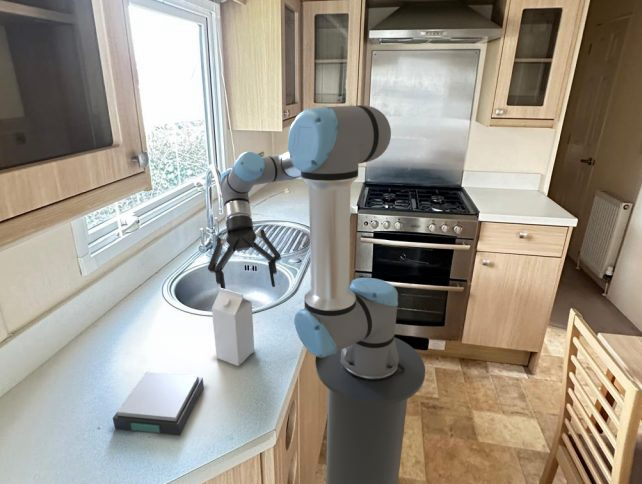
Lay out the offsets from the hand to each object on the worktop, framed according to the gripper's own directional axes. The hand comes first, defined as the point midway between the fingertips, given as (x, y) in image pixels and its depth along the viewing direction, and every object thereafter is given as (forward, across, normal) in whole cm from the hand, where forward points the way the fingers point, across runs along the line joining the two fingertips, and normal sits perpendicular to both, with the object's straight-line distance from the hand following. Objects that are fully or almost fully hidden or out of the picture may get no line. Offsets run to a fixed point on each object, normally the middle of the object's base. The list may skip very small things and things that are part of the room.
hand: (248, 290), depth 110 cm
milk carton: (+16, +6, -3) cm, 17 cm away
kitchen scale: (+26, +21, +12) cm, 35 cm away
